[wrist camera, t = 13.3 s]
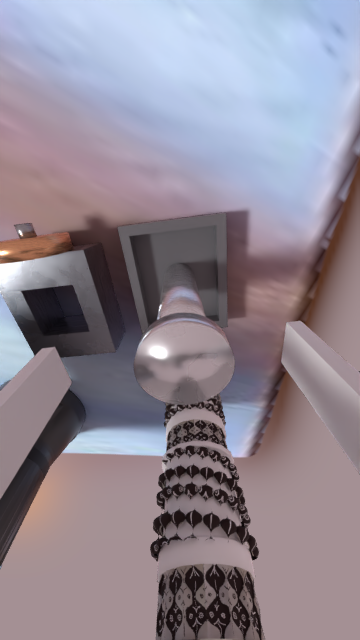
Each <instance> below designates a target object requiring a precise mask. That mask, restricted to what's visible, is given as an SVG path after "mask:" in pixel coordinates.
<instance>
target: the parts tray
mask: <svg viewBox="0 0 360 640" xmlns="http://www.w3.org/2000/svg"><path fill="white" fill-rule="evenodd" d="M117 228H118V232H119V237H120V241H121V245H122V250H123V254H124V258H125V262H126V267H127V271H128V275H129V279H130V284H131V288H132V292H133V297H134V301H135V305H136V309H137V314H138V318H139V322H140V326H141V331H142V334H143V333H144V331H145V330H146V329H147V328H148V327H149V325H151V324H152V323H153V322H154V321H156V320H157V317H158V311H159V305H160V299H161V292H162V286H163V280H164V274H165V272H166V270H167V269H168V267H170V266H171V265H173V264H176V263H182V264H185V265H187V266H188V267H189V268H190V269H191V270H192V272H193V275H194V278H195V282H196V285H197V289H198V292H199V296H200V299H201V303H202V306H203V309H204V313H205V316H206V317H207V318H209V319H211V320H212V321H214V322H215V323H216V324H217V325H219V327H220V328H223V327H228V320H227V230H226V213H216V214H208V215H200V216H193V217H185V218H177V219H169V220H161V221H154V222H146V223H138V224H130V225H123V226H119V227H117Z"/></svg>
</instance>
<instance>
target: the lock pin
mask: <svg viewBox="0 0 360 640" xmlns="http://www.w3.org/2000/svg"><path fill="white" fill-rule="evenodd" d="M234 369H235V359H234V355H233V352H232V350H231V347H230V345H229V342H228V340H227V338H226V335H225V333H224V332H223V330H222V329H221V328H220V327H219V325H217V324H216V323H215V322H214V321H212V320H211V319H209V318H207V317H206V316H205V313H204V309H203V306H202V303H201V299H200V296H199V292H198V289H197V285H196V282H195V278H194V275H193V272H192V270H191V269H190V268H189V267H188V266H187V265H185V264H182V263H176V264H173V265H171V266H170V267H168V269H167V270H166V272H165V274H164V280H163V286H162V292H161V299H160V305H159V311H158V317H157V320H156V321H154V322H153V323H152V324H151V325H149V327H148V328H147V329H146V330H145V331H144V333H143V334H142V336H141V338H140V341H139V344H138V348H137V352H136V355H135V359H134V373H135V377H136V379H137V381H138V383H139V385H140V386H141V387H142V388H143V389H144V390H145V391H146V392H147V393H148V394H149V395H151V396H152V397H154V398H156V399H158V400H160V401H163V402H166V403H171V404H178V405H187V404H195V403H199V402H203V401H206V400H208V399H210V398H212V397H214V396H216V395H217V394H218V393H220V392H221V391H222V390H223V389H224V388H225V387H226V386H227V385H228V383H229V382H230V380H231V378H232V376H233V373H234Z"/></svg>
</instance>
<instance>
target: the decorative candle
mask: <svg viewBox="0 0 360 640" xmlns="http://www.w3.org/2000/svg"><path fill="white" fill-rule="evenodd" d="M165 405H166V412H165V420H166V421H165V422H164V426H165V427H166V442H167V451H166V453H165V455H164V456H163V457H162V470H163V471H164V473H163V474H161V475H160V476H159V482H158V484H159V486H160V487H161V488H162V491H160V492H159V493H158V494H157V505H158V506H160V507H161V508H163V509H164V510H165V511H164V514H161V515H160V516H159V517H157V518H156V519H155V520H154V522H153V529H154V531H155V532H156V533H157V534H158V535H161V536H162V538H160V539H159V537H158V539H157V540H156V541H154V542H153V543H152V544H151V547H150V548H151V549H150V550H151V555H152V557H153V558H155V559H156V561H158V573H157V582H158V583H159V591H158V592H159V593H158V609H157V610H158V611H157V627H156V640H265V637H264V633H263V630H262V626H261V621H260V609H259V604H258V601H257V598H256V594H255V591H254V579H255V573H254V568H253V563H252V560H255V559H257V557H258V555H259V551H258V548H257V547H256V546H257V543H256V540H255V538H254V537H253V536H251V535H249V532H248V528H247V527H248V526H249V524H250V518H249V516H248V515H247V508H246V507H245V506H244V504H245V499H244V497H243V490H242V489H241V488H240V487H238V486H237V482H238V480H239V476H238V474H237V473H236V470H237V469H236V466H235V465H234V460H233V457H232V454H231V452H230V451H229V450H228V449H227V445H226V441H225V439H226V432H225V427H224V426H225V424H226V422H225V420H224V419H225V416H224V414H223V411H222V409H223V407H222V405H221V396H220V394H219V393H218V394H217V395H216V396H214V397H212V398H210V399H208V400H206V401H203V402H199V403H195V404H187V405H178V404H171V403H166V404H165ZM235 491H236V494H237V498H236V495H235ZM240 515H241V518H242V522H241V521H240ZM246 541H247V543H248V545H249V549H248V548H247V546H246V545H245V542H246Z"/></svg>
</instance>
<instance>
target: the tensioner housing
mask: <svg viewBox="0 0 360 640" xmlns="http://www.w3.org/2000/svg"><path fill="white" fill-rule="evenodd" d="M14 226H15V229H16V231H17V233H18V235H19V238H18V239H12V240H5V241H0V293H1V294H2V296H3V298H4V300H5V302H6V304H7V305H8V307H9V309H10V311H11V313H12V315H13V316H14V318H15V320H16V322H17V324H18V326H19V327H20V329H21V331H22V333H23V335H24V337H25V338H26V340H27V342H28V344H29V346H30V348H31V349H32V351H33V353H34V355H36V354H37V353H38V352H39V351H40V350H41V349H42V348H51V347H55V348H56V350H57V352H58V354H59V356H60V357H71V356H81V355H92V354H102V353H113V352H116V351H117V348H118V346H119V344H120V342H121V340H122V338H123V335H124V333H125V328H124V324H123V321H122V317H121V313H120V310H119V306H118V302H117V299H116V295H115V292H114V288H113V284H112V281H111V277H110V273H109V270H108V266H107V263H106V259H105V255H104V252H103V248H102V244H101V243H95V244H87V245H79V246H73V244H72V241H71V238H70V235H69V232H64V233H55V234H47V235H40V236H37V235H36V233H35V230H34V228H33V225H32V223H26V224H17V225H14ZM67 285H73V287H74V290H75V292H76V295H77V298H78V300H79V303H80V306H81V309H82V311H83V314H84V315H77V316H68V317H64V315H63V312H62V310H61V307H60V305H59V303H58V300H57V298H56V295H55V293H54V291H53V288H52V287H58V286H67Z"/></svg>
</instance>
